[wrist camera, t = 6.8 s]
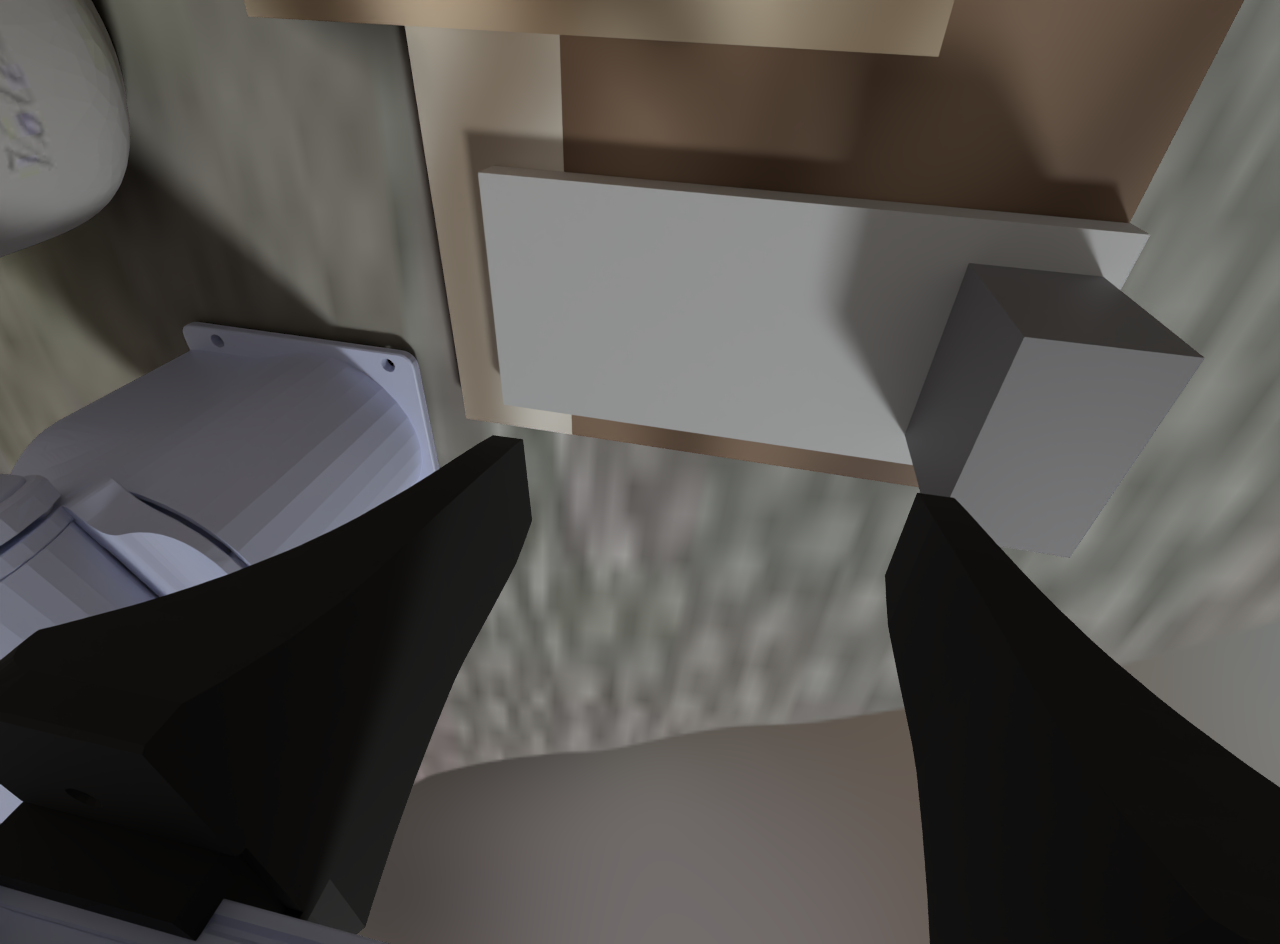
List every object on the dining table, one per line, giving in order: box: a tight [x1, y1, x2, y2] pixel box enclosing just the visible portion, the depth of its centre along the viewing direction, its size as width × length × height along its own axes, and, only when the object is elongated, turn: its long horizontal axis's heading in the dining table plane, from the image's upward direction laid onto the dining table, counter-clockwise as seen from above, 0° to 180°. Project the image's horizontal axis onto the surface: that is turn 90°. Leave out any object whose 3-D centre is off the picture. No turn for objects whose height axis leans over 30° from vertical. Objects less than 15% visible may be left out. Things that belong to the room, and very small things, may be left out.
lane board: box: [405, 0, 1244, 487], centre depth 15 cm, size 18×20×1 cm
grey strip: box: [478, 166, 1204, 558], centre depth 15 cm, size 16×7×5 cm, turn 88°
